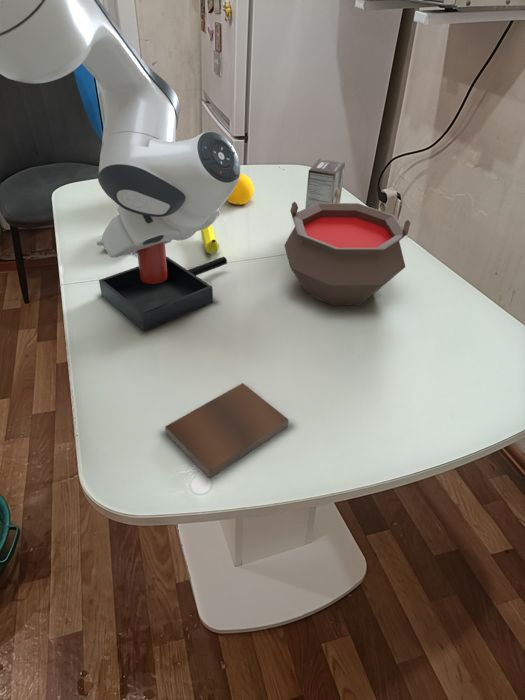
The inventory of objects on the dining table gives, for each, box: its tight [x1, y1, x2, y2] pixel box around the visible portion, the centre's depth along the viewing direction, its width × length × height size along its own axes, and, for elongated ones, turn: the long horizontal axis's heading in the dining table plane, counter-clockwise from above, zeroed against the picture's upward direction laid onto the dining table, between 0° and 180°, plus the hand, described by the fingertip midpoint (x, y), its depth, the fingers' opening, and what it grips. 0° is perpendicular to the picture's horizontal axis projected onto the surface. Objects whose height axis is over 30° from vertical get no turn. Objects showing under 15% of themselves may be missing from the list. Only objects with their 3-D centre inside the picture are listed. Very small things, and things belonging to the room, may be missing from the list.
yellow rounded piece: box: [226, 173, 255, 205], centre depth 134 cm, size 8×8×8 cm
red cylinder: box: [136, 242, 168, 284], centre depth 91 cm, size 5×5×11 cm
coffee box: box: [304, 158, 346, 209], centre depth 119 cm, size 9×6×16 cm
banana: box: [200, 224, 220, 255], centre depth 114 cm, size 3×19×6 cm, turn 11°
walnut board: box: [164, 382, 289, 479], centre depth 72 cm, size 14×10×2 cm
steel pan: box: [98, 256, 228, 333], centre depth 99 cm, size 24×15×4 cm, turn 132°
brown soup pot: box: [284, 201, 411, 306], centre depth 99 cm, size 24×24×16 cm
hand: (148, 244), depth 91 cm, fingers closed on red cylinder, 5 cm apart
